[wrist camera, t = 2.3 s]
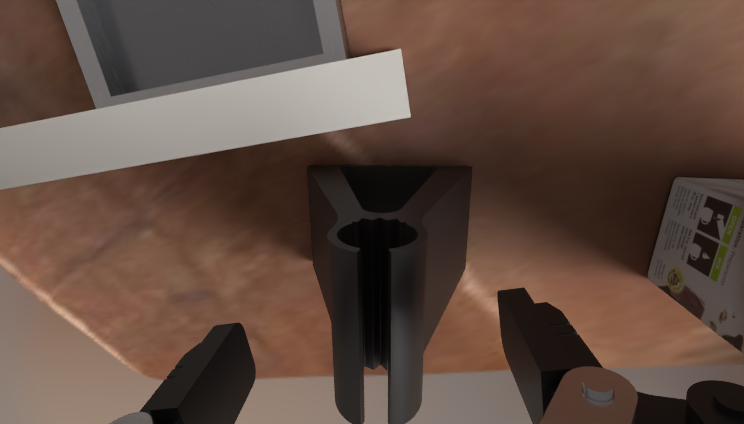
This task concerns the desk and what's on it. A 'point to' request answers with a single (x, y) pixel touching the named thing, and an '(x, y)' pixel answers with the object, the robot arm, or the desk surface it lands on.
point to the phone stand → (386, 270)
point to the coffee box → (704, 253)
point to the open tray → (196, 42)
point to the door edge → (207, 120)
